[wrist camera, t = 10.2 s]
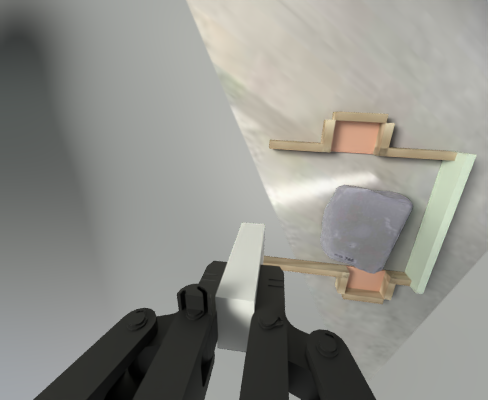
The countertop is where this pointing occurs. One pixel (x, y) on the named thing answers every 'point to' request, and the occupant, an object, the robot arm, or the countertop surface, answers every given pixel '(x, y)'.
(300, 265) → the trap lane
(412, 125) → the countertop surface
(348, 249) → the stone block
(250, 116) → the countertop surface
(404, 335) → the countertop surface
